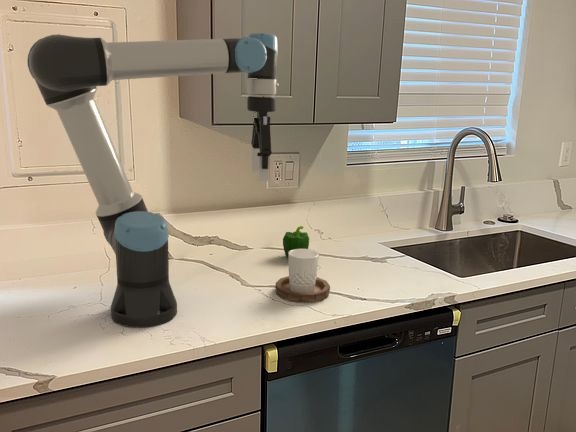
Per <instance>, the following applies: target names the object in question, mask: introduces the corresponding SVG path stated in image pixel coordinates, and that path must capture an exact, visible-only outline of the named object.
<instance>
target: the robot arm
mask: <svg viewBox="0 0 576 432" xmlns="http://www.w3.org/2000/svg"><path fill="white" fill-rule="evenodd" d="M278 44H279V43H278V38H277V36H276V35H275V34H274V33H263V32H262V33H258V32H257V33H256V32H254V33H252V32H251V33H249V34H248V36H247V37H241V38H240V37H239V38H236V37H235V38H234V37H233V38H209V39H208V38H205V39H178V40H176V39H175V40H173V39H172V40H149V41H147V40H144V41H142V40H141V41H117V42H113V41H111V42H107V41H105V40H104V39H103V38H102V37H81V36H73V35H65V34H60V33H58V34H50V35H47V36H44V37H43V38H39V39H38V40H37V41H36V42H34V43H33V44H32V46H31V47H30V49H29V52H28V54H27V68H28V71H29V73H30V76H31V77H32V79H34V81H35V83H36V86H37V87H38V90H39V92H40V94H41V96H42V98H43V100H44V102H45V105H46V107H48V108H51V109H53V110H55V111H56V112H57V115H58V117H59V119H60V121H61V123H62V125H63V128H64V130H65V132H66V134H67V137H68V139H69V141H70V143H71V145H72V148H73V150H74V152H75V154H76V157H77V159H78V161H79V163H80V165H81V168H82V170H83V172H84V175H85V177H86V179H87V182H88V184H89V186H90V188H91V190H92V192H93V194H94V197H95V199H96V201H97V204H98V206H97V208H96V211H95V215H96V217H97V220H98V221H99V224H100V226H101V228H102V231H103V235H104V238H105V240H106V242H107V243H108V245H110V247H111V249H112V251H113V253H114V254H115V260H116V263H115V264H116V281H117V283H116V284H117V285H116V288H115V292H114V295H113V298H112V301H111V305H110V319H111V320H112V321H113V322H114V323H116V324H118V325H121V326H124V327H131V328H148V327H155V326H160V325H162V324H164V323H167V322H169V321H171V320H172V319H174V318H175V317H176V316H177V314H178V301H177V299H176V297H175V294H174V291H173V288H172V287H171V283H170V276H169V275H170V274H169V272H170V270H169V269H170V268H169V266H170V265H169V264H170V263H169V235H170V234H169V228H168V222H167V220H166V219H165V218H164V217H163V216H162V215H161V214H158V213H154V212H151V211H148V208H147V206H146V203H145V201H144V199H143V196H142V195H141V194H139V193H137V192H134V191H133V189H132V186H131V183H130V182H129V178H128V176H127V174H126V172H125V170H124V167H123V164H122V162H121V160H120V158H119V155H118V153H117V151H116V148H115V146H114V144H113V140H112V138H111V136H110V133H109V131H108V128H107V126H106V124H105V121H104V120H103V117H102V114H101V112H100V109H99V108H98V105H97V103H96V100H95V95H96V93H97V91H98V88H97V87H106V86H107V87H108V85H110V83H111V82H112V81H118V80H119V81H121V80H122V81H123V80H137V79H152V78H154V79H155V78H166V77H167V78H169V77H184V76H187V77H188V76H201V75H215V74H218V75H219V74H237V73H239V74H240V73H245V74H247V84H246V85H247V86H246V87H247V88H246V93H247V94H248V97H247V99H246V100H247V101H246V102H247V103H246V104H247V106H246V107H247V110H248V111H249V112H253V113H256V112H257V118H254V122H253V121H252V122H253V123H255V124H254V125H253V124H252V133H251V134H252V135H251V142H250V143H251V147H252V149H251V151H252V154H251V155H252V157H251V160H252V161H251V172H252V173H258V182H270V173H271V172H270V167H271V166H270V165H271V163H270V161H271V155H272V153H273V152H272V137H271V136H272V135H271V116H268V113H274V112H275V111H277V98H276V97H275V95H277V87H279V86H280V85H279V83H278V82H277V76H278V75H277V72H278V71H277V69H278V54H279V51H278V48H279V47H278ZM248 78H257V79H248Z"/></svg>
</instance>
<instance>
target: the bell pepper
mask: <svg viewBox="0 0 576 432" xmlns="http://www.w3.org/2000/svg"><path fill="white" fill-rule="evenodd" d="M303 229H304V226H303V225H299V226H298V227H296V230H295V231H292V232H291V231H286V232H285V233H284V236H283V238H282V247H283V252H284V255H285V256H286V257H287V259H289V258H288V253H289V251H291V250H294V249H309V246H310V237H309V234H308V232H305V231H304V232H302V231H300V230H303Z"/></svg>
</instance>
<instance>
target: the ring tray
mask: <svg viewBox="0 0 576 432" xmlns="http://www.w3.org/2000/svg"><path fill="white" fill-rule="evenodd" d="M330 291H331V285H330V284H329V283H328V281H327V280H325V279H323V278H320V277H318V276H317V277H316V283H315V290H314V291H313V292H311V293H297V292H292V291H291V290H290V289H289V275H288V276H284V277H281V278H279V279H278V280H277V281H276V282H275V293H276V295H277V296H278V297H279V298H280V299H283V301H287V302H292V303H297V304H312V303H318V302H322V301H324V300H326V299H327V298H329V295H330Z"/></svg>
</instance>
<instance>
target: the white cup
mask: <svg viewBox="0 0 576 432" xmlns="http://www.w3.org/2000/svg"><path fill="white" fill-rule="evenodd" d="M319 255H320V254H319V252H318V251H316V250H314V249H310V248H308V249H294V250H291V251H289V253H288V258H287V259H288V276H289V289H290V290H291V291H292V292H297V293H311V292H313V291H314V290H315V283H316V277H318V266H319Z"/></svg>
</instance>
